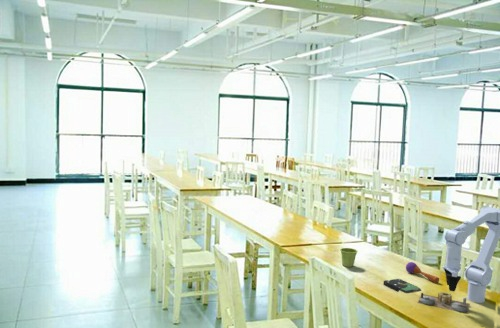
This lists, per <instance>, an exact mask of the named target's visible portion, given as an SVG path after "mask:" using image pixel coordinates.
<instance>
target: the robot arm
mask: <svg viewBox="0 0 500 328" xmlns="http://www.w3.org/2000/svg"><path fill="white" fill-rule="evenodd" d="M483 224H485V225H486V226H487V227H488V231H487V234H486V236H485V238H484V240H483V243H482V246H481V248H480V250H479V253H478V255H477V258H476V260H474V261H470V263H469V265H468V267H466V269H465V271H464V276H465V278H466V282H468V285H467V295H466V300H468V301H470V302H473V303H477V304H483V303H485V302H486V301H485V300H486V290H487V286H488V285H489V284H490V283H491V282H492V275H493V272H494V271H493V269H492V268H491V266H490V263H491V261H492V258H493V256H494V253H495V251H496V248H497V246H498V243H499V241H500V208H496V207H493V206H492V207H491V206H489V205H485V206H483V207H482V208H480V211H479V213H478V214H477V215H476V216H474V217H473V218H472V219H471V220H469V221H468V220H465V221H463V222H462V223H461V224H460V225H458V226H456V227H455V228H452V229H449V230H447V231H446V233H445V235H444V240H445V245H446V256H445V257H446V258H445V265H442V268H443V270H444V272H445V277H446V285H447V286H448V290H449V292H456V289H457V286H458V284H459V282H460V280H461V279H462V277H461V275H458V273H459V272H460V271H461V259H462V258H461V257H462V249H463V248H462V247H463V245H464V244H465V242H466V240H467V238H468V237H470V236H471V235H472V234H473V233H476V228H478V227H479V226H482V225H483Z"/></svg>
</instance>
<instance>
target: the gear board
mask: <svg viewBox="0 0 500 328" xmlns="http://www.w3.org/2000/svg"><path fill="white" fill-rule="evenodd" d="M418 297H419V299H418V301H417V304H421V305H424V306H431V307H435V308H439V309H444V310H449V311H453V312H458V313H462V314H469V309H470V303H468V302H467V297H463V298H462V301H459V300H454V299H452V302H450V303H445V299H442V302H440V301H439V300H438V296H434V295H429V294H425V293H424V292H421V293H420V296H418Z"/></svg>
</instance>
